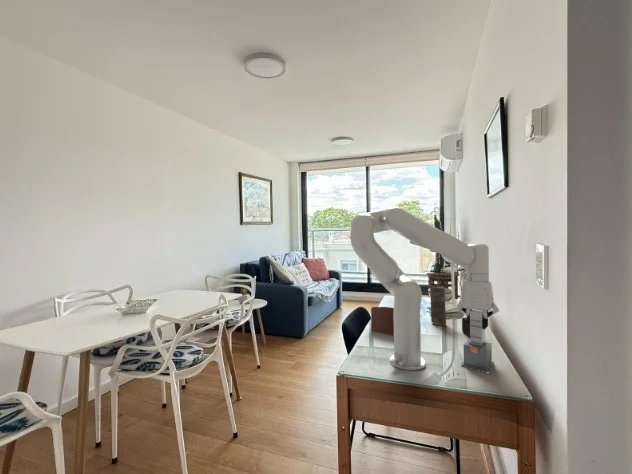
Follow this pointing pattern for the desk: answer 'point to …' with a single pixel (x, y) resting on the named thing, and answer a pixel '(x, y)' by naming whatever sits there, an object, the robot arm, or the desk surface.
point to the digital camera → (465, 327)
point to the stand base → (478, 357)
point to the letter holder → (382, 320)
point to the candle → (438, 305)
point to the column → (477, 328)
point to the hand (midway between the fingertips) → (477, 326)
